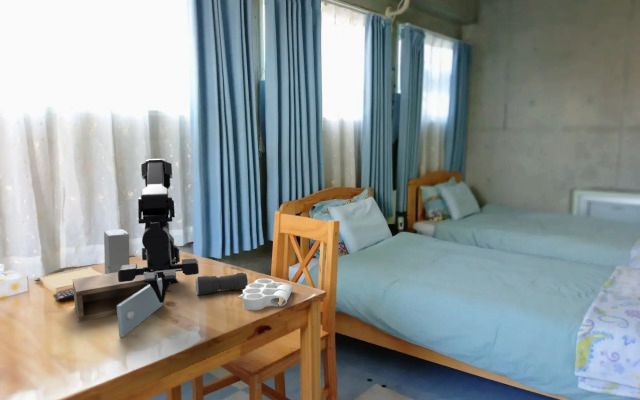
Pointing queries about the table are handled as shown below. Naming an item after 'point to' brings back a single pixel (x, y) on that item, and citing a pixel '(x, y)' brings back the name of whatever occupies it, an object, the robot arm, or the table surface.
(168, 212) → the robot arm
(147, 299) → the door
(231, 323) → the table surface
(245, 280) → the flashlight
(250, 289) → the white multi-hole tray
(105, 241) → the skincare box
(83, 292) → the cubby
